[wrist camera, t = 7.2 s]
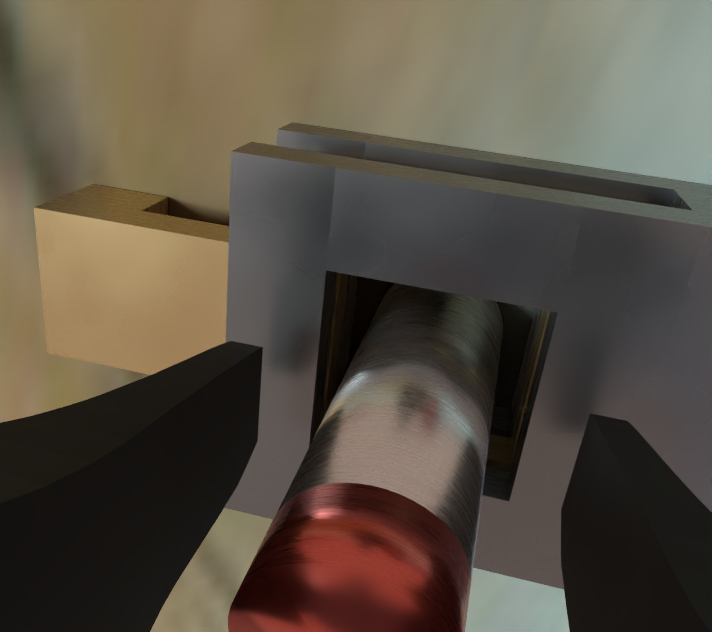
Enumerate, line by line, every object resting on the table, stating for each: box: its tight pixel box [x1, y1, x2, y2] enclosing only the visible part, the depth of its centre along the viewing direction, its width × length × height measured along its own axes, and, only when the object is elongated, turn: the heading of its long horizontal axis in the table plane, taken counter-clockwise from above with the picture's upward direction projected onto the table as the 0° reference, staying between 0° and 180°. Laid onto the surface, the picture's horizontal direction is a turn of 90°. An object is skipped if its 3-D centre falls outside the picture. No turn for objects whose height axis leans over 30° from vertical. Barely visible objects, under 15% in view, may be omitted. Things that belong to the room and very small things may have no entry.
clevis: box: [34, 123, 712, 589], centre depth 15 cm, size 17×8×4 cm, turn 83°
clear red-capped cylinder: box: [228, 283, 503, 632], centre depth 12 cm, size 3×3×9 cm
